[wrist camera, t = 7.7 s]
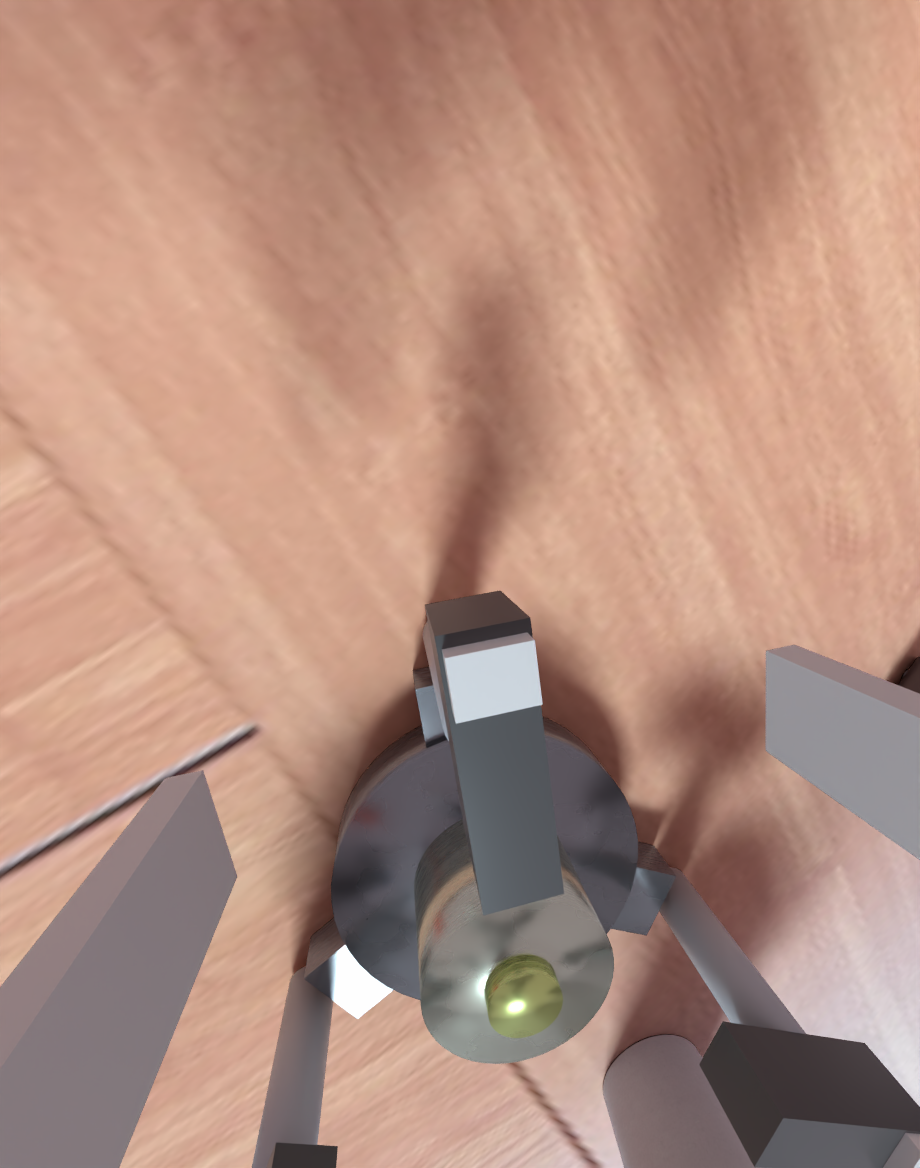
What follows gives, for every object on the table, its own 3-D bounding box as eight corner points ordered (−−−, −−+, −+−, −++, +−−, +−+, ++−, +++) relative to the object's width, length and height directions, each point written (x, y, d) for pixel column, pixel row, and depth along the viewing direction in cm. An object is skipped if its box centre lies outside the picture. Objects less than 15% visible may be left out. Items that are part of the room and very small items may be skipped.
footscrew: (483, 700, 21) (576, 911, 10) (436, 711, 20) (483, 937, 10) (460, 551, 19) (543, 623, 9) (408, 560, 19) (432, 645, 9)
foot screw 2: (603, 889, 24) (765, 1193, 14) (620, 855, 24) (798, 1138, 13) (709, 912, 25) (929, 1202, 15) (726, 880, 25) (962, 1153, 15)
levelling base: (327, 995, 23) (298, 1234, 16) (245, 704, 19) (155, 837, 12) (657, 902, 25) (769, 1074, 18) (638, 624, 22) (770, 694, 14)
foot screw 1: (312, 1041, 23) (249, 1487, 13) (269, 1036, 23) (166, 1495, 12) (357, 928, 22) (328, 1313, 12) (312, 921, 22) (241, 1314, 11)
